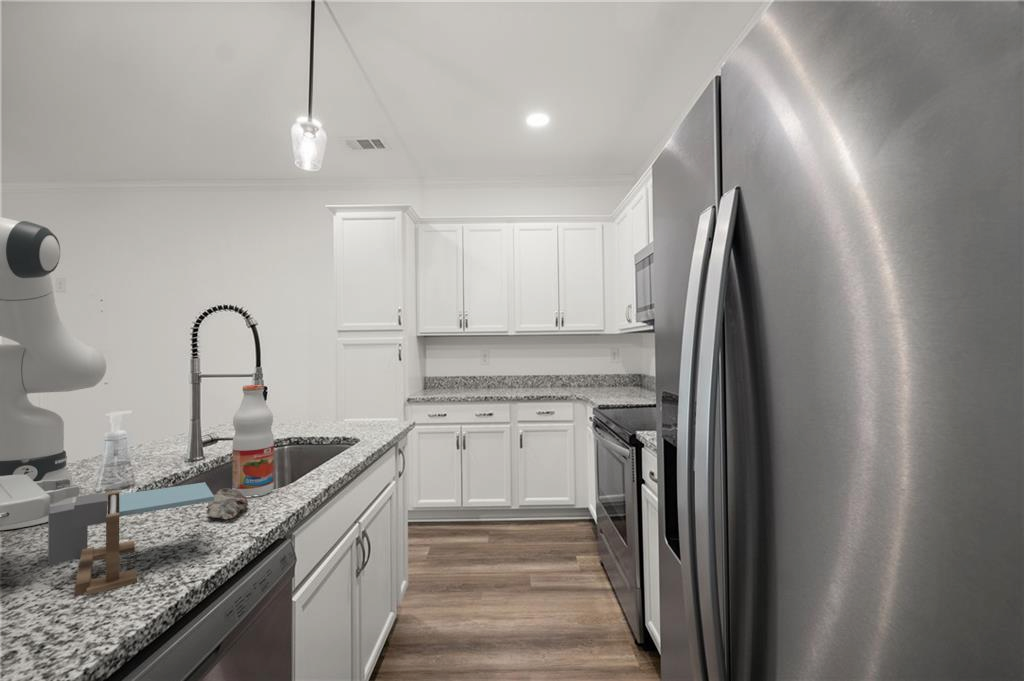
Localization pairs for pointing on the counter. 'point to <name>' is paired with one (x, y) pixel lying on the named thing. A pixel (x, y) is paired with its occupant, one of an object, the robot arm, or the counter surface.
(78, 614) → the counter surface
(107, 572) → the post frame
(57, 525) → the basalt block
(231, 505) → the mineral rock
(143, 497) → the trapdoor
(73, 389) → the robot arm
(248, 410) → the fruit juice
